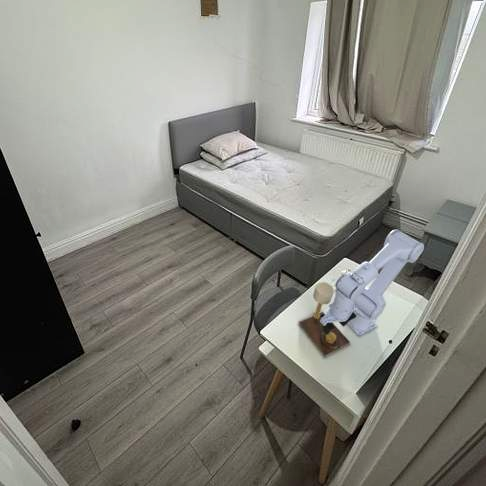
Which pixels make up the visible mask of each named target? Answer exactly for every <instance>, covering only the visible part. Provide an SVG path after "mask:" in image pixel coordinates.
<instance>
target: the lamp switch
mask: <svg viewBox="0 0 486 486" xmlns="http://www.w3.org/2000/svg"><path fill="white" fill-rule="evenodd" d="M325 339H326V341H327V342H328V343H331V344H333V343H335V341H336V335H335V334H334V333H332V332H330V333H329V334H327V335H326V336H325Z"/></svg>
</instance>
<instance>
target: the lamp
mask: <svg viewBox="0 0 486 486" xmlns="http://www.w3.org/2000/svg"><path fill="white" fill-rule="evenodd" d="M334 293H335V290H334V287H333V286H332V285H331V284H330V283H328V282H325V281H320V282H318V283H316V284H315V287H314V291H313V295H312V296H313V299H314V301H315V302H316V303H317V304H316V307H315V311H314V312H313V313H312V316H313V317H314V318H316V319H319V318H320V314H319V313H321V310H322V307H323V305H330V304H331V301H332V299H333V295H334Z"/></svg>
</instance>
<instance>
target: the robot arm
mask: <svg viewBox="0 0 486 486" xmlns="http://www.w3.org/2000/svg"><path fill="white" fill-rule="evenodd" d="M384 240H385V241H384V243H383V247H382V248H381V250H379V251H378V252H377V254H375V256H374V257H373V258H372V259H371V260H370V261H363V262H362V263H360V264H359V265H357V266H356V268H354V269H352V271H351V273H349V274H348V275H346V274H344V275H342V276H341V275H340V277H339V278H338V279H337V280H336V282H335V283H334V287H335V290H334V292H336V293H335V296H334V299H333V301H332V303H329V304H328V306H329V309H328V310H327V312H326V313H324V314H323V315H321V316H320V318H319V319H320V322H321V323H322V326H323V331H324V332H325V334H326V335H327V334H329V333H330V331H331V330H332V329H334V328H335V327H334V325H335V324H334V323H339V324H340V325H341V326H342V327H343V328H345V326H347V325H348V326H349V327H350V328H351V329H352V330H353V331H354V332H355V333H356V335H358V336H361V335H363V334H366V333H367V332H369V331H371V330H372V329H374V328H376V327H377V324H376V322H377V321H378V318H379V317H380V316H381V315H382V314H383V312H384V309H385V308H386V306H387V302H386V300H385V298H384V296H383V295H384V294H385V292H386V291H387V290H388V288H389V287H390V286H391V285H392V283H393V282H394V280H395V279H396V278H397V276H398V275H399V274H400V272H401V271H402V269H403V268H404V267H405V265H407V263H411V264H414V263H415V262H416V261H417V260H418V258H419V257H420V255H422V253H423V252H424V251H425V250H424V249H425V244H424V243H423V242H420V241H418V240H417V239H414V238H413V237H411V236H410V235H407V234H406V233H404V232H403V231H400V229H392V231H390V232H389V233H388V234H387V236H386V237H385V239H384ZM379 270H381V271H380V272H379ZM372 281H373V282H372ZM370 283H371V285H370V286H369V287H368V286H367V285H369V284H370ZM332 323H333V324H334V325H333V324H332Z"/></svg>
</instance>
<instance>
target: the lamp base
mask: <svg viewBox="0 0 486 486" xmlns="http://www.w3.org/2000/svg"><path fill="white" fill-rule="evenodd" d="M319 314H320V316H321V315H323V314H325V312H324V311H320V313H319ZM332 324H333V325H334V327H335V328H334V329H332V330H331V331H330V332H332V333H334V334H335V335H336V341H335V343H333V344H331V343H328V342H327V341H326V339H325V336H326V334H325V332H324V331H323V326H322V323H321V322H320V319H316V318H314V317H313V315H312V316H310V317H308V318H305V319H303V320H300V321H299V322H298V325H299V327H300V328H301V329H302V331H304V333H305V334H306V335H307V337H308V338H309V339H310V340H311V342H312V343H313V344H314V345H315V347H316V348H317V349H318V351H319V352H320V354H322V355H323V357H324V358H327V357H328V356H330V355H331V354H333V353H336V352H337V351H339V350H341V349H343V348H345V347H347V346H349V345H350V343H351V341H350V340H349V339H348V338H347V337H346V336H345V335H344V334H343V333H342V331H341V330H340V329H339V328H338V327H337V326H336V325H335V323H334V322H332Z"/></svg>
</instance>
